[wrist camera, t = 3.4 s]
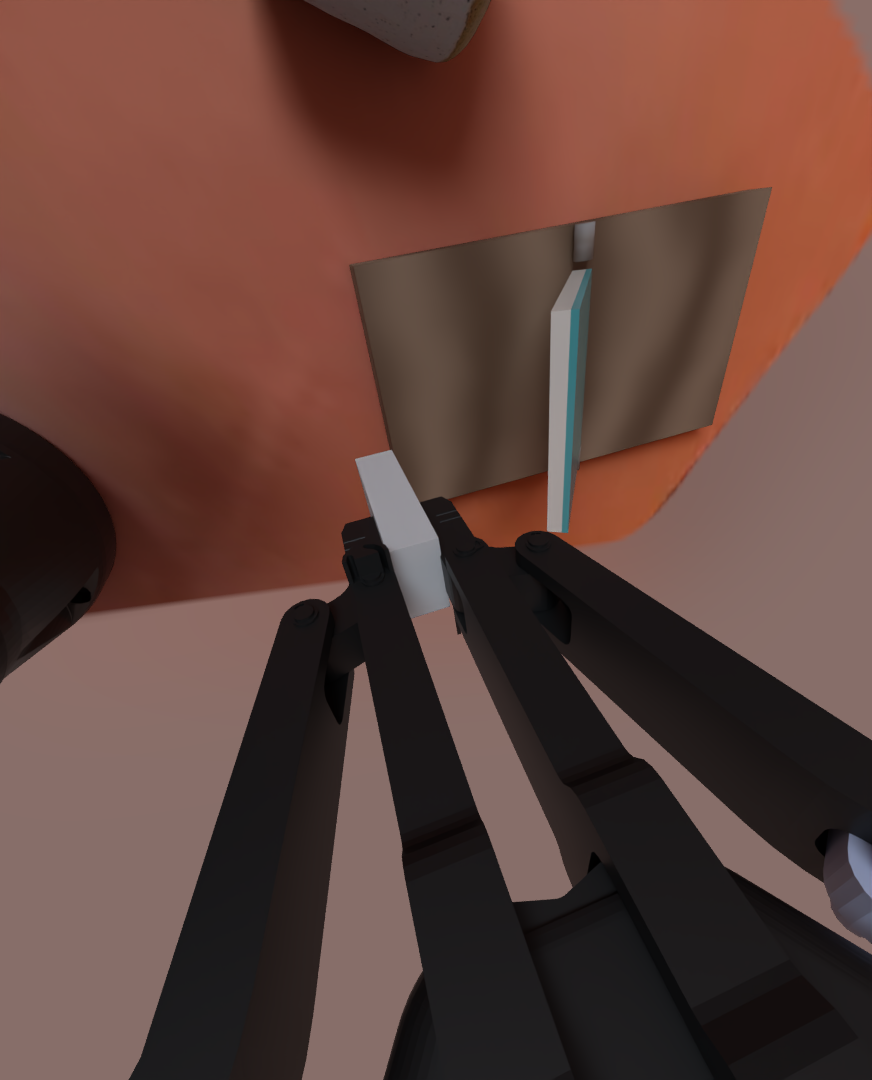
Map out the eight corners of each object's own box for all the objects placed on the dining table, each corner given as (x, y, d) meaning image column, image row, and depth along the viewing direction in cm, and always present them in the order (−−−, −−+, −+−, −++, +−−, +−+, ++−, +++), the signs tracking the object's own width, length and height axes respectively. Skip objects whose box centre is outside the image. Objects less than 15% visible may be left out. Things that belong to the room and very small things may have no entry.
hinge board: (401, 500, 30) (409, 518, 28) (349, 264, 22) (356, 267, 20) (696, 418, 34) (722, 429, 32) (749, 189, 25) (788, 185, 23)
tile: (547, 531, 22) (567, 532, 21) (551, 311, 16) (579, 308, 16) (565, 443, 29) (580, 443, 29) (572, 270, 23) (592, 268, 23)
